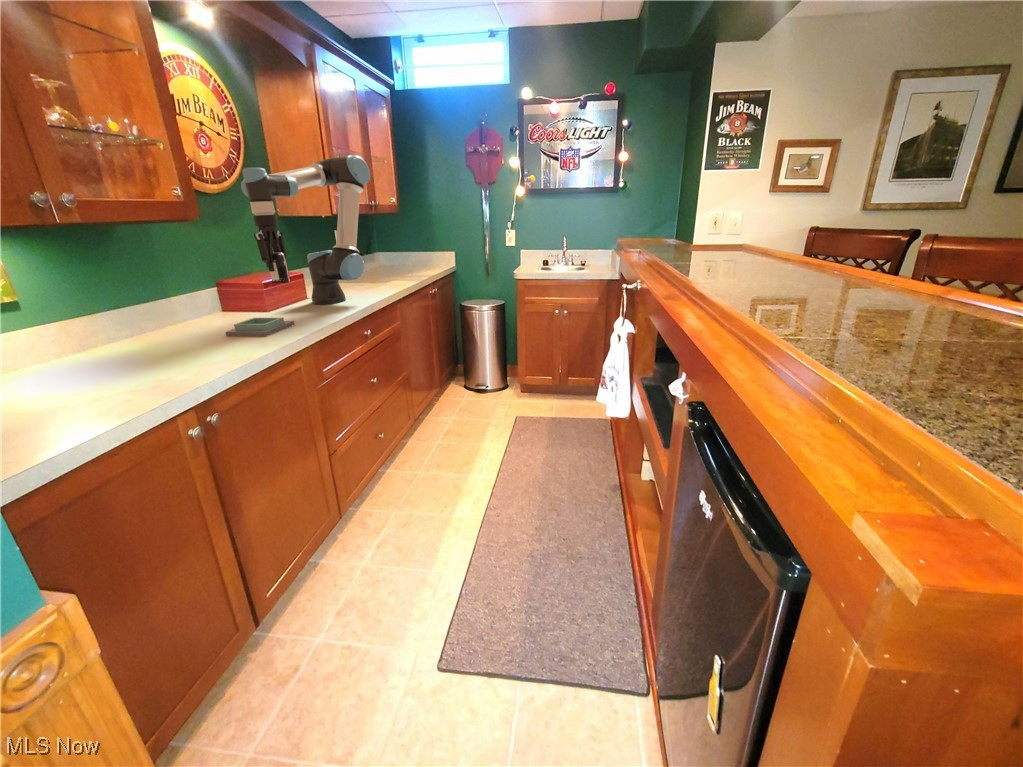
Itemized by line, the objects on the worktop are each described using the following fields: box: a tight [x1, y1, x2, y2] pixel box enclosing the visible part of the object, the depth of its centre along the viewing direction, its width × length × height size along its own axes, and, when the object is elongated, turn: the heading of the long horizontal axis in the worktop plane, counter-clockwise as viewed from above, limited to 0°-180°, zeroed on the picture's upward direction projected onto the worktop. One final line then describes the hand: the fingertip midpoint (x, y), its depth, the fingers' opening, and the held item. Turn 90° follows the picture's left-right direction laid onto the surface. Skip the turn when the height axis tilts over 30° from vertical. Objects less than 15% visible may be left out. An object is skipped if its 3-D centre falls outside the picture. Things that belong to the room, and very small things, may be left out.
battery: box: [265, 251, 291, 284], centre depth 168 cm, size 7×4×11 cm, turn 80°
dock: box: [224, 317, 295, 337], centre depth 161 cm, size 16×16×4 cm
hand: (279, 278), depth 169 cm, fingers closed on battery, 4 cm apart
